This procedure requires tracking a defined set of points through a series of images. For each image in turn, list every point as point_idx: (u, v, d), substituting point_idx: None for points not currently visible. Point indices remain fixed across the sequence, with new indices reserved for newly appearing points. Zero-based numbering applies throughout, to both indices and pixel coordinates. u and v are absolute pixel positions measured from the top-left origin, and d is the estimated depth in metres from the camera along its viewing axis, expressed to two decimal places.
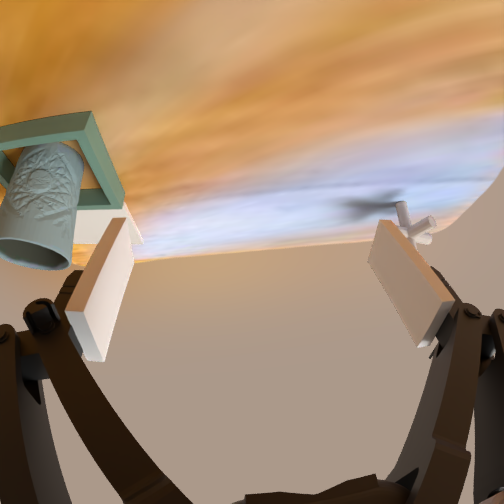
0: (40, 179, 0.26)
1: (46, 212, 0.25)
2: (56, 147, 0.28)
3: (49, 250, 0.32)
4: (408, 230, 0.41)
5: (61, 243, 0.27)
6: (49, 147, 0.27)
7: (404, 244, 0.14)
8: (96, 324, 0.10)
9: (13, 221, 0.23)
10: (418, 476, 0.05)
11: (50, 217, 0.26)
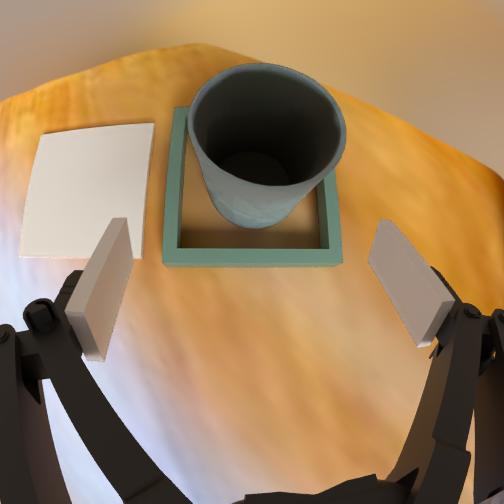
0: None
1: (311, 188, 0.22)
2: None
3: (202, 133, 0.20)
4: None
5: (291, 193, 0.19)
6: None
7: (404, 244, 0.14)
8: (96, 324, 0.10)
9: None
10: (418, 476, 0.05)
11: None
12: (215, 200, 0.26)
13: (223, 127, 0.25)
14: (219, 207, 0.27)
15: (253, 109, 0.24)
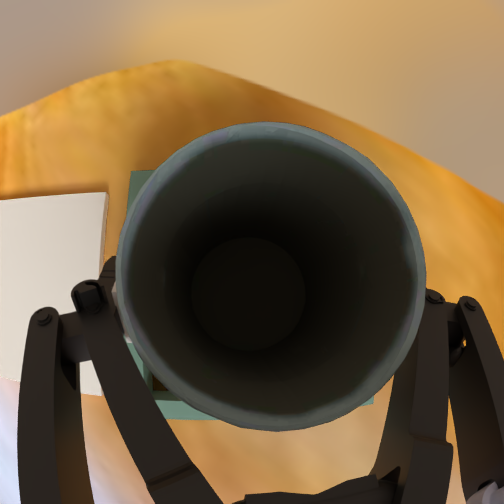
0: None
1: None
2: None
3: (153, 276, 0.11)
4: None
5: None
6: None
7: None
8: None
9: None
10: (401, 475, 0.05)
11: None
12: None
13: (199, 227, 0.15)
14: None
15: (250, 196, 0.15)
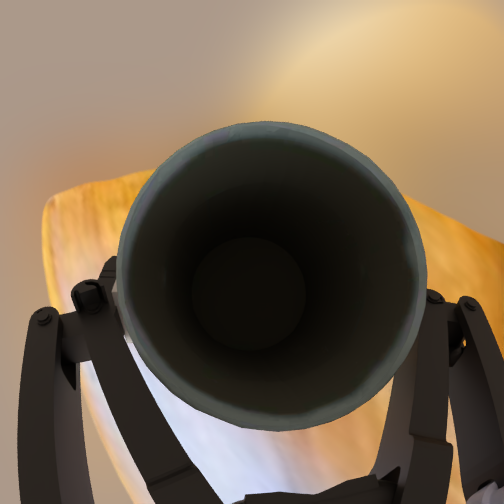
0: None
1: None
2: None
3: (154, 276, 0.11)
4: None
5: None
6: None
7: None
8: None
9: None
10: (401, 475, 0.05)
11: None
12: None
13: (199, 226, 0.15)
14: None
15: (251, 195, 0.15)
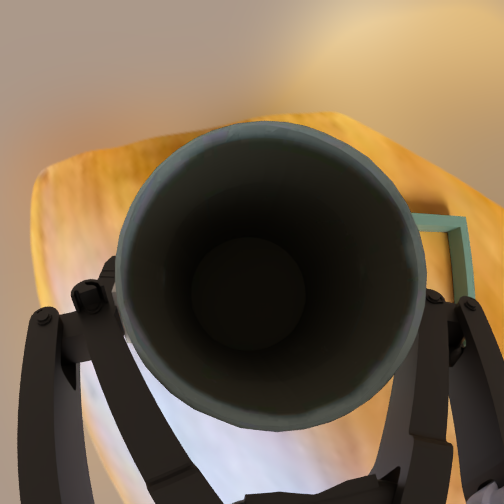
0: None
1: None
2: None
3: (153, 276, 0.11)
4: None
5: None
6: None
7: None
8: None
9: None
10: (401, 475, 0.05)
11: None
12: None
13: (199, 226, 0.15)
14: None
15: (250, 195, 0.15)
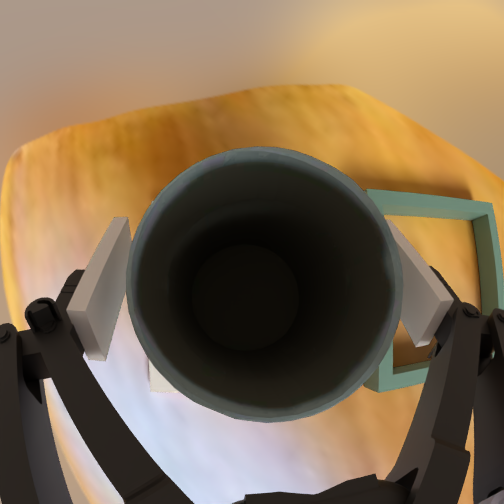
0: None
1: None
2: None
3: (158, 285, 0.12)
4: None
5: None
6: None
7: (403, 243, 0.14)
8: (98, 323, 0.10)
9: None
10: (417, 476, 0.05)
11: None
12: None
13: (199, 237, 0.17)
14: None
15: (246, 209, 0.16)
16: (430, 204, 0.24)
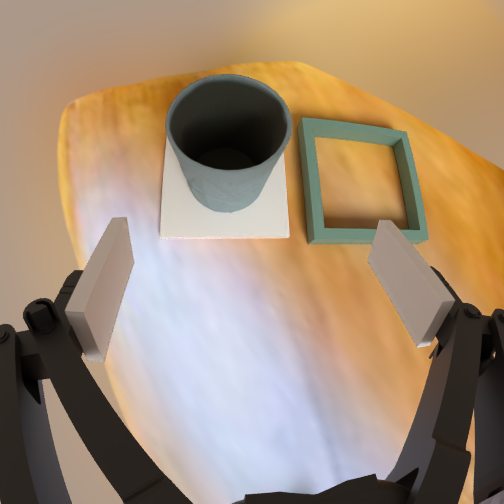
0: None
1: (266, 173, 0.27)
2: (258, 194, 0.34)
3: (178, 132, 0.25)
4: None
5: (245, 176, 0.24)
6: None
7: (404, 244, 0.14)
8: (96, 324, 0.10)
9: None
10: (418, 476, 0.05)
11: (262, 175, 0.26)
12: (191, 188, 0.31)
13: (197, 128, 0.30)
14: (195, 194, 0.32)
15: (222, 112, 0.29)
16: (349, 128, 0.37)
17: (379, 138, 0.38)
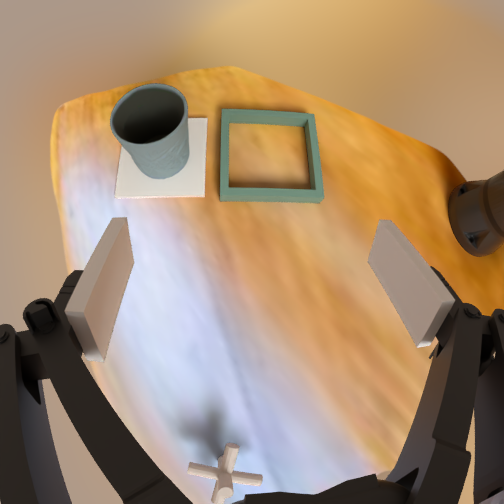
0: (183, 149, 0.42)
1: (174, 146, 0.38)
2: (183, 165, 0.46)
3: (120, 124, 0.37)
4: (232, 471, 0.35)
5: (154, 147, 0.35)
6: (186, 161, 0.46)
7: (404, 244, 0.14)
8: (96, 324, 0.10)
9: (187, 121, 0.37)
10: (418, 476, 0.05)
11: (170, 148, 0.38)
12: (134, 161, 0.43)
13: (138, 120, 0.41)
14: (137, 165, 0.44)
15: (153, 108, 0.41)
16: (260, 114, 0.48)
17: (288, 120, 0.50)
